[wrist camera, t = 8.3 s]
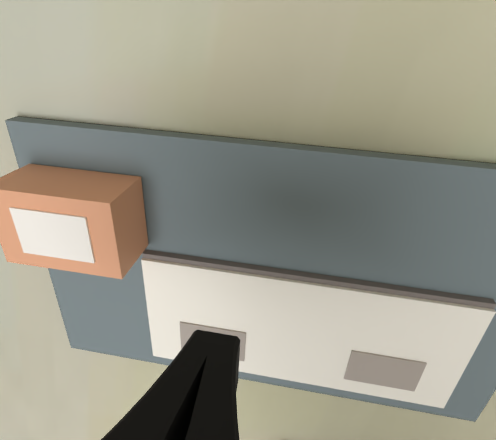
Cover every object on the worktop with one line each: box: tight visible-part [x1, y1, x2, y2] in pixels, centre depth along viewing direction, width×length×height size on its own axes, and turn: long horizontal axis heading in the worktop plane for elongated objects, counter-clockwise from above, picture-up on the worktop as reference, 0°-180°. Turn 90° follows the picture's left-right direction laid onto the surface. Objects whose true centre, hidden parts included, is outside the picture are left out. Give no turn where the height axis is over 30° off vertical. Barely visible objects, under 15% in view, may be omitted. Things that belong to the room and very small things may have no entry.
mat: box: [5, 116, 496, 422], centre depth 20 cm, size 16×27×1 cm, turn 87°
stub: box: [0, 164, 148, 279], centre depth 17 cm, size 4×6×3 cm, turn 87°
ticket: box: [141, 249, 496, 408], centre depth 20 cm, size 8×18×1 cm, turn 87°
